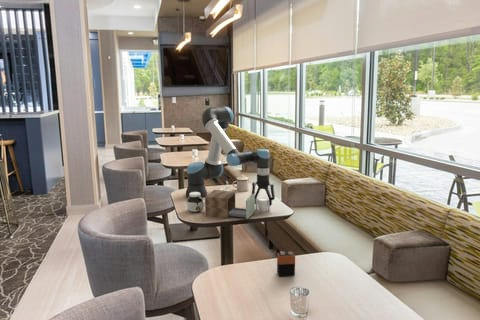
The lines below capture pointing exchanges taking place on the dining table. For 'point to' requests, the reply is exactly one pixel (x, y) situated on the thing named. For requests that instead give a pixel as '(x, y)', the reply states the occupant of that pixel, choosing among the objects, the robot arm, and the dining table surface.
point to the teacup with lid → (242, 183)
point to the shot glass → (262, 204)
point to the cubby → (219, 203)
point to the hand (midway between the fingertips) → (262, 209)
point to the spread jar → (195, 202)
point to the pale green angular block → (244, 212)
